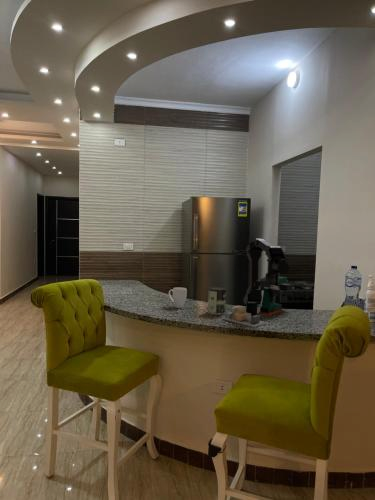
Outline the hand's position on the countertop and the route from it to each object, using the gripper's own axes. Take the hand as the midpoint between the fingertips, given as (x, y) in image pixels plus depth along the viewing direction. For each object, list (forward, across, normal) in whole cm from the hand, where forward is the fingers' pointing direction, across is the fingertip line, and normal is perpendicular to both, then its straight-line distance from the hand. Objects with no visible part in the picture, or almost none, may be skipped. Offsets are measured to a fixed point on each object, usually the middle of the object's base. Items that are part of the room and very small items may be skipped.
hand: (271, 302), depth 183 cm
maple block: (+11, -18, -4) cm, 21 cm away
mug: (+12, -61, -8) cm, 63 cm away
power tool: (+12, -19, +35) cm, 42 cm away
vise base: (+12, -14, -4) cm, 19 cm away
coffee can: (+12, -36, 0) cm, 38 cm away
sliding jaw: (+11, -10, -4) cm, 16 cm away
